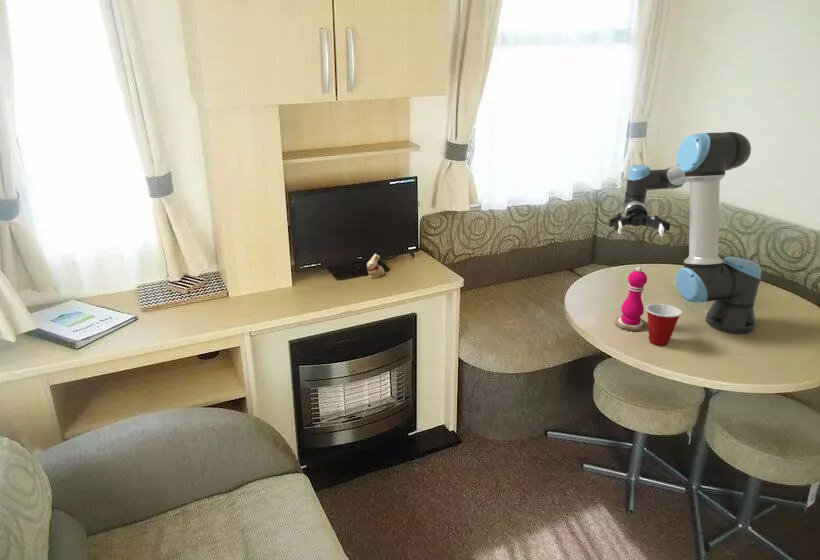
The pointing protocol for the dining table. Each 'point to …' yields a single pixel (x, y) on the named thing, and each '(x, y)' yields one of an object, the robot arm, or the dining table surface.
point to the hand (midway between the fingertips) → (641, 231)
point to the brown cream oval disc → (630, 327)
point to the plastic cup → (661, 323)
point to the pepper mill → (634, 298)
